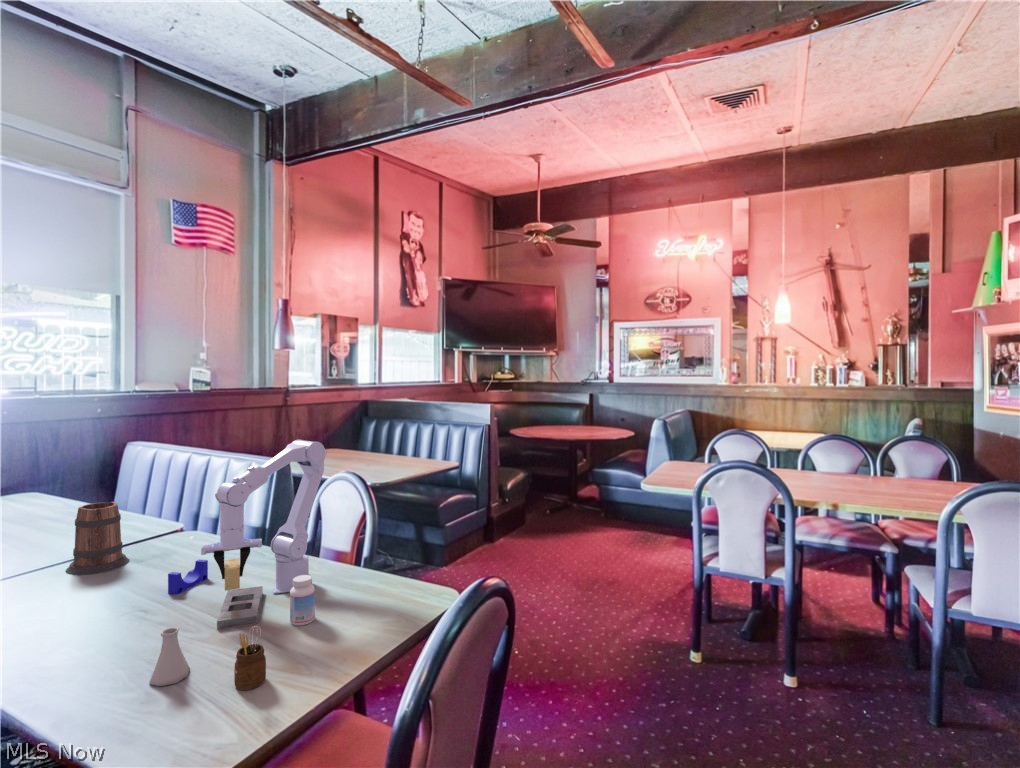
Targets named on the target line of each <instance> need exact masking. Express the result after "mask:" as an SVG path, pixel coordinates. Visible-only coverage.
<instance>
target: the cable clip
mask: <svg viewBox="0 0 1020 768" xmlns="http://www.w3.org/2000/svg"><path fill="white" fill-rule="evenodd" d="M208 563H209V561H208V560H207V559H197V560H195V565H194V569H191V570H190V571H188V572H187V574H185V576H184V577H182V572H176V571H171V572H169V573H168V574H167V594H170V595H179V594H181V593H183V592H185V591H187V590H189V589H191V588H193V587H195V586H197V585H198V584H201V583H202V582H204V581H207V580H208V579H209V577H208V576H209V573H208V571H209V564H208Z"/></svg>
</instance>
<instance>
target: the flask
mask: <svg viewBox="0 0 1020 768" xmlns="http://www.w3.org/2000/svg"><path fill="white" fill-rule="evenodd" d="M179 631H180V627H175V626H172V627H167V628H165V629H163V630H162V631H161V633H160V636H161V638H162V643H161V649H160V653H159V657H158V659H157V662H156V665H155V667H154V670H153V673H152V675H151V678H150V680H149V683H148V685H152V686H157V687H163V686H168V685H169V686H170V685H173V684H178V683H179V682H181V681H182V680H184V679H185V678H186V677H188V676H189V674H190V670H191V667H190V665H189V664H188V661H187V660H186V658H185V656H184V653H183V651H182V649H181V647H180V642H179V640H178V639H179V638H178V633H179Z"/></svg>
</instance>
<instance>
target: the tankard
mask: <svg viewBox="0 0 1020 768" xmlns="http://www.w3.org/2000/svg"><path fill="white" fill-rule="evenodd" d="M121 514H122V513H120V510H119V507H118V503H117V502H116V501H108V502H95V503H89V504H88V503H87V504H84V505H82V506H79V507H78V509H77V513H76V518H75V519H74V527H75V528H74V529H75V534H74V548H73V551H72V554H73V555H72V557H73V561H71V562H70V564H69V566H68V567H67V568H66V569H65V574H67V575H71V576H88V575H89V576H90V575H97V574H101V573H107V572H110V571H114V570H117V569H121V568H123V567H125V566H127V565H128V564H129V563H130V562H131V560H130V558H129V557H127V555H126V554H124V553H123V541H122V531H121V529H122V528H121V519H122V517H121V516H122V515H121Z"/></svg>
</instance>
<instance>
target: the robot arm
mask: <svg viewBox="0 0 1020 768" xmlns="http://www.w3.org/2000/svg"><path fill="white" fill-rule="evenodd" d="M326 456H327V451H326V449H325V447H324V444H323V443H322V442H320V441H310V440H304V439H301V438H300V439H299V438H298V439H296V440H293V441H292V442H291V443H288V444H287V445H286V447H285V448H284V449H283V450H281V451H280V452H279V453H277V454H276V455H275V456H274V457H272V458H271V459H269V460H268V461H266V462H265V463H264V464H263V465H255V466H253V465H251V466H249V467H248V468H247V471H245V472H243V473H241V474H240V475H239V476H234V477H233V478H232V481H231V482H230V481H229V482H228V481H226V482H224V483H222V484H220V486H219V487H218V488H217V490H216V491H217V492H215V494H214V497H215V499H216V501H217V502H218V503H219V530H220V532H219V538H220V539H219V541H220V542H216V543H210V544H205V545H201V550H200V555H201V556H203V555H204V556H205V555H207V554H213V558H214V560H215V562H216V564H217V566H218V569H219V571H220V574H221V580H225V552H230V551H238V550H239V565H240V578H241V577H243V572H244V569H245V566H246V562H247V560H248V558H249V556H250V555H251V554H250V553H251V548H252V549H253V548H263V543H262V542H263V539H262V538H247V539H246V538H245V522H244V521H245V520H244V519H245V518H244V517H245V515H244V513H245V510H244V509H245V506H244V505H245V503H246V502H247V500H248V498H249V496H250V495H251V494H252V493H253V492H255V491H256V490H258V489H260V488H261V487H262V486H264V485H265V484H266V483H268V481H269V477H270V476H271V475H273V474H274V473H276V472H278V471H279V470H281V469H282V468H284V467H286V466H287V465H289V464H291V463H294V462H295V463H297V464H298V465H299V466H300V468H301V470H302V471H303V473H302V474H303V475H302V477H301V480H300V483H299V486H298V489H297V492H296V494H295V496H294V500H293V503H292V505H291V509H290V511H289V514H288V517H287V520H286V522H285V523H284V524H283V525H282V526H280V527H279V528H278V530H277V532H276V534H275V536H273V538H272V540H271V542H270V550H271V552H272V553H273V554H274V558H275V583H274V587H273V594H282V593H283V594H284V593H290V590H291V589H292V587H294V586H293V579H294V578H295V577H297V576H300V575H310V574H309V567H310V566H309V558H310V556H309V555H305V554H306V552H307V550H308V539H309V533H308V531H307V529H306V525H307V522H308V519H309V515H310V512H311V510H312V508H313V504H314V501H315V498H316V495H317V493H318V490H319V486H320V484H321V481H322V478H323V475H324V472H325V459H326ZM310 576H311V575H310Z"/></svg>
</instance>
